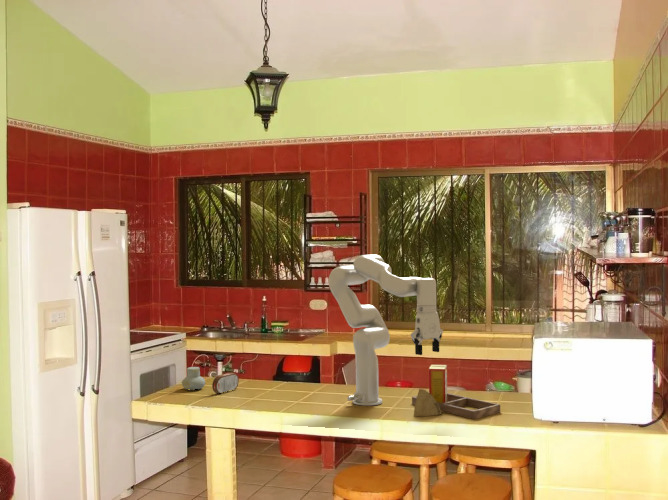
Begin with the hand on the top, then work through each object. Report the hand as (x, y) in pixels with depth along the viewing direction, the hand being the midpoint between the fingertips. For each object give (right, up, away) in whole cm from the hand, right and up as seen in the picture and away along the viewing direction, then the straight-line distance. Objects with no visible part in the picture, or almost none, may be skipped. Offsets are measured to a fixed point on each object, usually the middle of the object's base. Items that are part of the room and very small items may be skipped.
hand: (427, 353), depth 273 cm
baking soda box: (+7, -24, +17) cm, 31 cm away
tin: (-86, -25, +46) cm, 101 cm away
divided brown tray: (+13, -24, +11) cm, 29 cm away
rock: (0, -25, 0) cm, 25 cm away
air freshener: (-102, -25, +53) cm, 118 cm away
